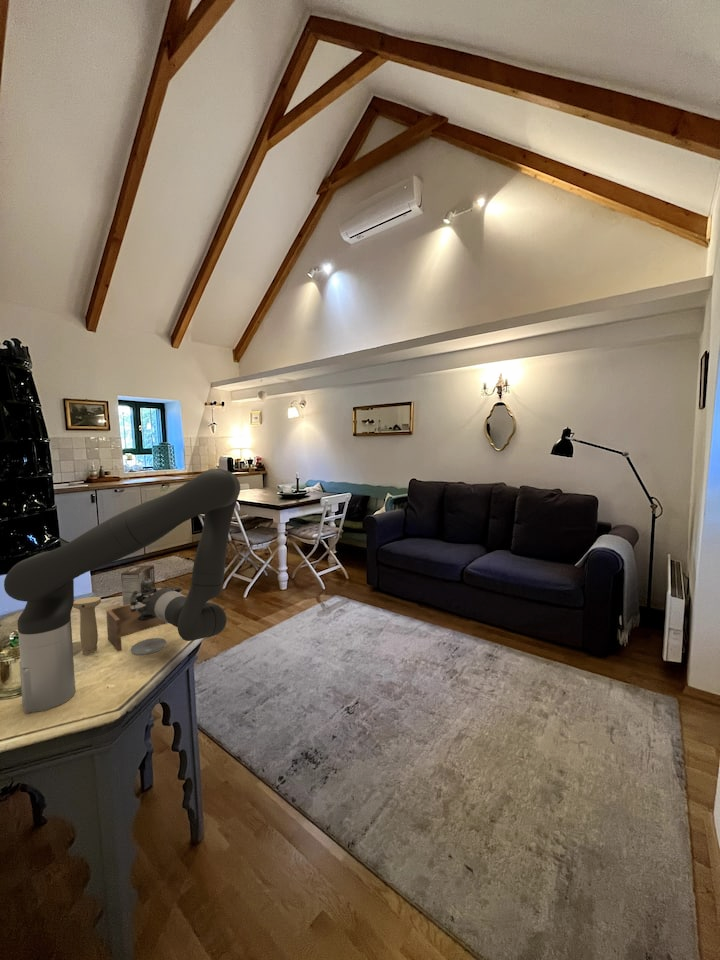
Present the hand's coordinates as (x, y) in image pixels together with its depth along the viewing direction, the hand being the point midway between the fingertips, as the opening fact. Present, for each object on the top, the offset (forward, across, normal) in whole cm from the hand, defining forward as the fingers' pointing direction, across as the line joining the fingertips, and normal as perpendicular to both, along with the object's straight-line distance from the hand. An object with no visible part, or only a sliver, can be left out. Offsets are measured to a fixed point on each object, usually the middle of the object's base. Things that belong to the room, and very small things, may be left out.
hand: (142, 592), depth 113 cm
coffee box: (+23, -8, +15) cm, 29 cm away
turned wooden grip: (+7, +12, +15) cm, 21 cm away
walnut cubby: (+6, -4, +15) cm, 17 cm away
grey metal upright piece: (-3, 0, +7) cm, 7 cm away
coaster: (-2, 0, +15) cm, 16 cm away
